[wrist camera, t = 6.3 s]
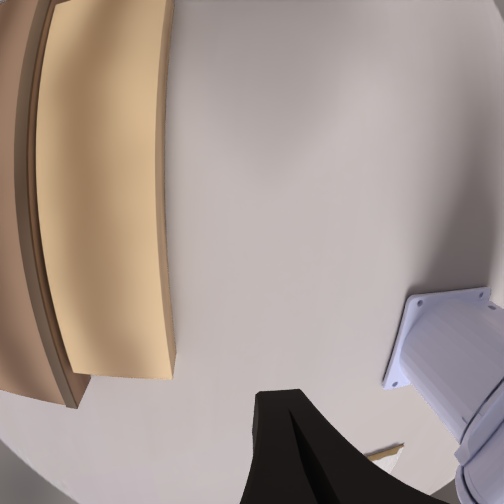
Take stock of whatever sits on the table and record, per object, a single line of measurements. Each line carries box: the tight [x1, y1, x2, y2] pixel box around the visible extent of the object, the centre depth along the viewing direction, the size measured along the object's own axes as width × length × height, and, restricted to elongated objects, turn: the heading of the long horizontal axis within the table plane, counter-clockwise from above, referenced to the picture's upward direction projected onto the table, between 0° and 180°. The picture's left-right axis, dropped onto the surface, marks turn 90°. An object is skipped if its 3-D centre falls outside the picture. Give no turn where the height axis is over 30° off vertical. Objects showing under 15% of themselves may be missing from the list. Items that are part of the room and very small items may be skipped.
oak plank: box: [36, 0, 176, 379], centre depth 13 cm, size 6×20×3 cm, turn 178°
